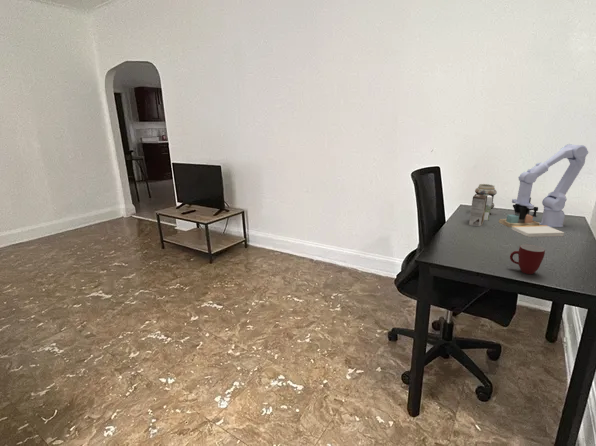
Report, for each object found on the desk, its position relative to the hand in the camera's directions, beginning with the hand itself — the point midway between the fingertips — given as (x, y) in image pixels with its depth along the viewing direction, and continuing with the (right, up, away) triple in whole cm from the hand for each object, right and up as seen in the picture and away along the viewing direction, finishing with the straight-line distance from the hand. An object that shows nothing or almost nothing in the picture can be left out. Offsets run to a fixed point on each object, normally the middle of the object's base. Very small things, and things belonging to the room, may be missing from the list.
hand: (519, 218), depth 189 cm
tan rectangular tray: (0, -3, +1) cm, 4 cm away
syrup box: (-15, -1, +12) cm, 19 cm away
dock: (+1, -8, -12) cm, 15 cm away
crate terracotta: (+4, -2, +1) cm, 5 cm away
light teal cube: (-4, -2, 0) cm, 5 cm away
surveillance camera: (+17, +1, +19) cm, 25 cm away
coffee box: (-22, -3, +4) cm, 23 cm away
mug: (-35, -21, -57) cm, 70 cm away
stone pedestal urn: (-8, +3, +25) cm, 26 cm away
